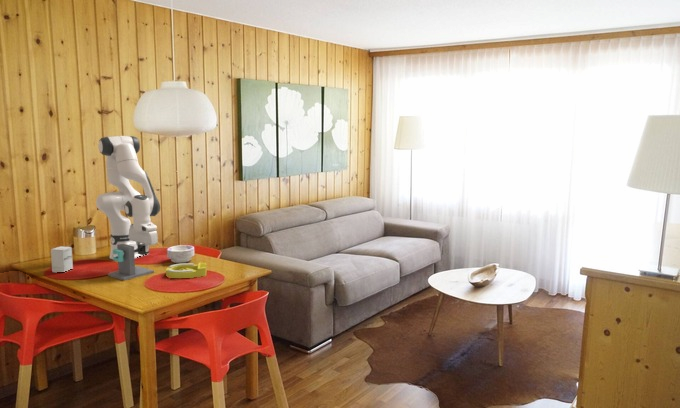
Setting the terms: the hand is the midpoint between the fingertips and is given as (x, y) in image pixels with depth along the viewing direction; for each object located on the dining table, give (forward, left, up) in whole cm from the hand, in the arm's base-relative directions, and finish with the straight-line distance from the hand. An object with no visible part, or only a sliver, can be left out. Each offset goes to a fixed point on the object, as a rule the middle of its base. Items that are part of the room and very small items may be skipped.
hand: (143, 250), depth 288 cm
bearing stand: (+8, 0, -11) cm, 14 cm away
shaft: (+8, 0, -2) cm, 8 cm away
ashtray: (-9, +23, -12) cm, 28 cm away
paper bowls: (-25, 0, -11) cm, 27 cm away
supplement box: (+26, -34, -11) cm, 44 cm away
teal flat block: (+15, 0, -2) cm, 15 cm away
